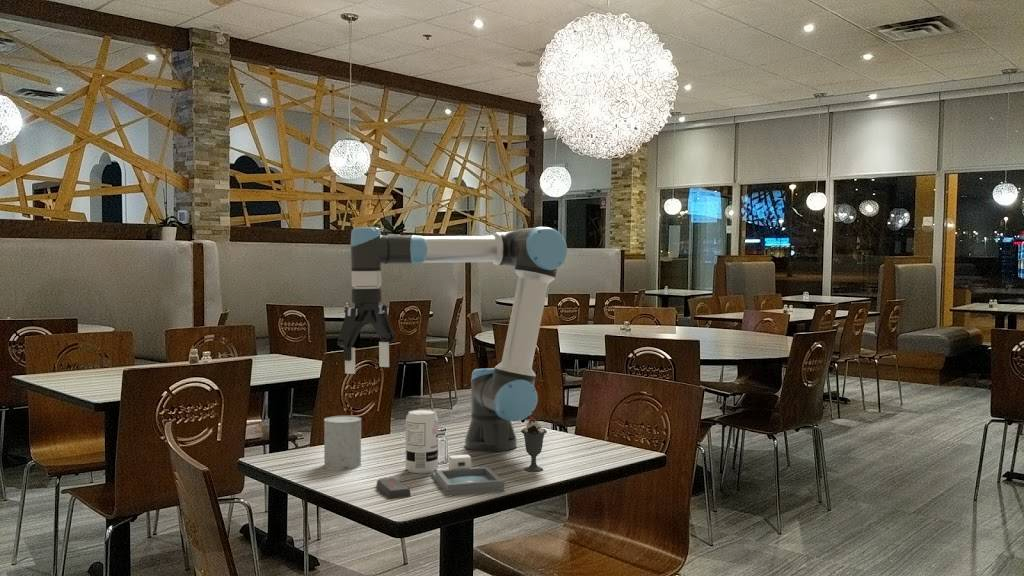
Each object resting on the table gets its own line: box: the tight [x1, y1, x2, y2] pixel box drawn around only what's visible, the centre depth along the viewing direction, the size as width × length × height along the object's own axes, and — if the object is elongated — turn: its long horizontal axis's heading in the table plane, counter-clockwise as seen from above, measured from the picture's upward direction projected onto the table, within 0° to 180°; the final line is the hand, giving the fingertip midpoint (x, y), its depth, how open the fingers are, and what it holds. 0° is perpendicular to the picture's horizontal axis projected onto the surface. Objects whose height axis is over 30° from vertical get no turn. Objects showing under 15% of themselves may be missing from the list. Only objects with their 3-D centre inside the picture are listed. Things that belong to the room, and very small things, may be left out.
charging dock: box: [430, 454, 505, 496], centre depth 197 cm, size 14×18×5 cm
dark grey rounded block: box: [376, 476, 411, 500], centre depth 189 cm, size 5×12×3 cm, turn 27°
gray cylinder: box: [323, 415, 362, 471], centre depth 213 cm, size 10×10×12 cm
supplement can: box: [405, 409, 439, 474], centre depth 209 cm, size 8×8×15 cm
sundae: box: [520, 411, 548, 473], centre depth 211 cm, size 7×7×15 cm
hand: (367, 370), depth 210 cm, fingers open, 13 cm apart
